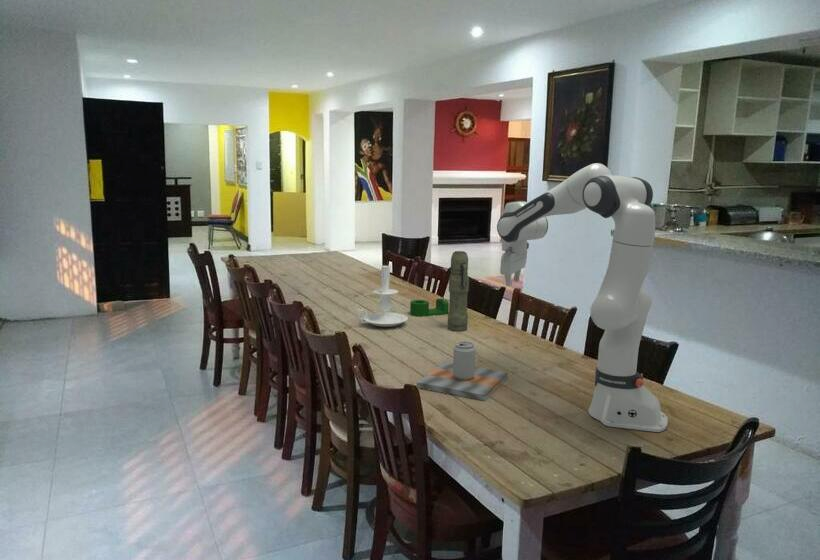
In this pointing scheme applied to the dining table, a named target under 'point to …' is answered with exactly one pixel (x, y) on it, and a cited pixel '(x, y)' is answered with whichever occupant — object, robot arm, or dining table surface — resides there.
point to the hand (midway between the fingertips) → (512, 283)
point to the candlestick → (384, 305)
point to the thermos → (458, 292)
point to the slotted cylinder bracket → (422, 308)
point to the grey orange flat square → (463, 382)
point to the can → (464, 360)
